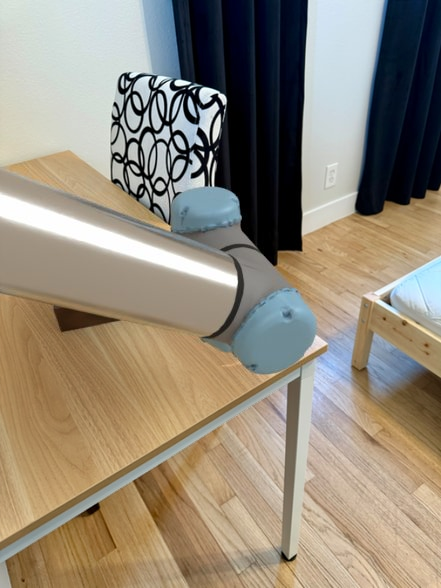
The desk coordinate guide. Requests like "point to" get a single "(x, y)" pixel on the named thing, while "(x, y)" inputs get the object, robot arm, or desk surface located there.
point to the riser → (78, 318)
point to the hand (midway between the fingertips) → (75, 226)
